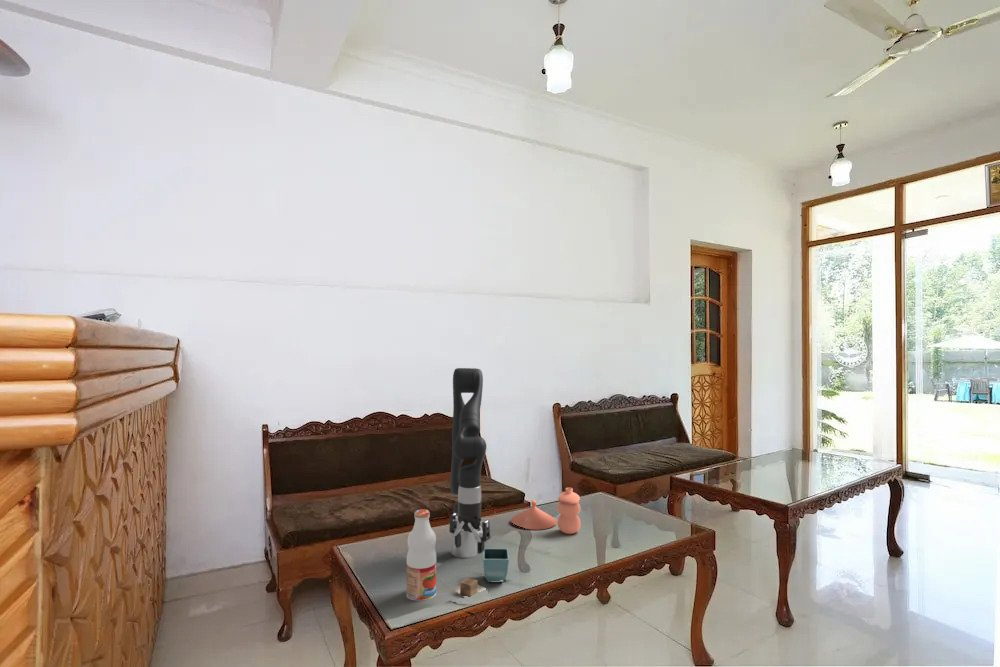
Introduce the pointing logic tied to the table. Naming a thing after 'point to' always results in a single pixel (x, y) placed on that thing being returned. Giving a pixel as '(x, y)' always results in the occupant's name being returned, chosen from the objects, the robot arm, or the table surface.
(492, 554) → the flower pot
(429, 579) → the fruit juice
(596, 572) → the table surface
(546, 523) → the ceramic vessels
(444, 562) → the table surface
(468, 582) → the lid
